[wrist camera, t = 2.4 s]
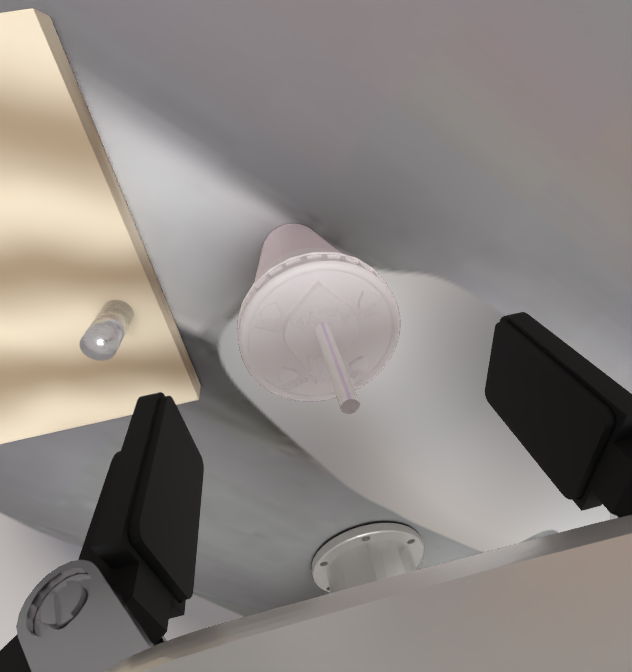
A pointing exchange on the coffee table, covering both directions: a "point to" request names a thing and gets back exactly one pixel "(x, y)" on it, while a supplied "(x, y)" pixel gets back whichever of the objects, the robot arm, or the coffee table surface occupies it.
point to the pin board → (70, 257)
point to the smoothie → (315, 320)
